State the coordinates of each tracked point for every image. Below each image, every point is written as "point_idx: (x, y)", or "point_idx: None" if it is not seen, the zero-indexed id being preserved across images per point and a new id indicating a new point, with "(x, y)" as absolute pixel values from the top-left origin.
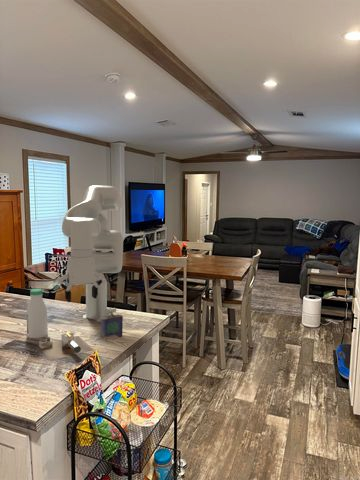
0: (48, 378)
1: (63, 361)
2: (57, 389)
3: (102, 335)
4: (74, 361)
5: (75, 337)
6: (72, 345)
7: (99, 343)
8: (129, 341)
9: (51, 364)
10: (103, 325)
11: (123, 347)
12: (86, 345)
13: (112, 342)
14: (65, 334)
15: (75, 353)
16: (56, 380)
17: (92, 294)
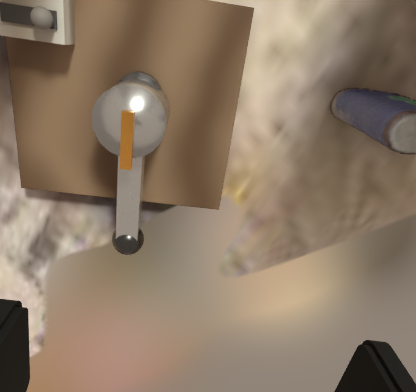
0: (3, 261)
1: None
2: None
3: (341, 117)
4: None
5: (229, 18)
6: (116, 214)
7: (297, 132)
8: (399, 200)
9: None
10: (371, 136)
11: (338, 229)
12: (218, 154)
13: (345, 162)
14: (120, 108)
15: None
16: (24, 285)
17: (368, 386)
